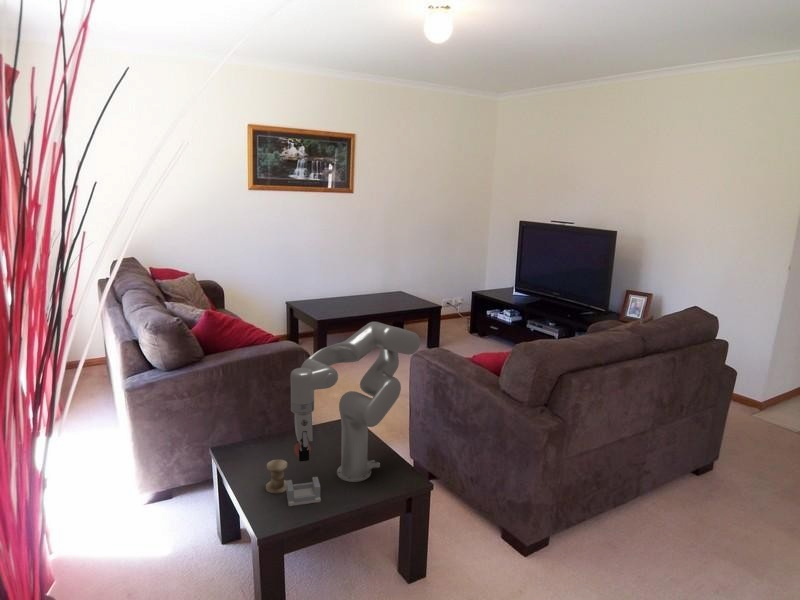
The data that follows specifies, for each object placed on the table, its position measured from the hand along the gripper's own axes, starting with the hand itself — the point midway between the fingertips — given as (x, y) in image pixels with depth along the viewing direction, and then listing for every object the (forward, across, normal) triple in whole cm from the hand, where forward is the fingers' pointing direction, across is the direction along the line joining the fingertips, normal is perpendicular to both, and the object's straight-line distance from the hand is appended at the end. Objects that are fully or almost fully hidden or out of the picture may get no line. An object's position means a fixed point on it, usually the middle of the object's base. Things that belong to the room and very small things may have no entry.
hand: (302, 455), depth 181 cm
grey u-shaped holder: (+15, 0, 0) cm, 15 cm away
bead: (0, 0, 0) cm, 0 cm away
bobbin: (+15, +8, +8) cm, 19 cm away
